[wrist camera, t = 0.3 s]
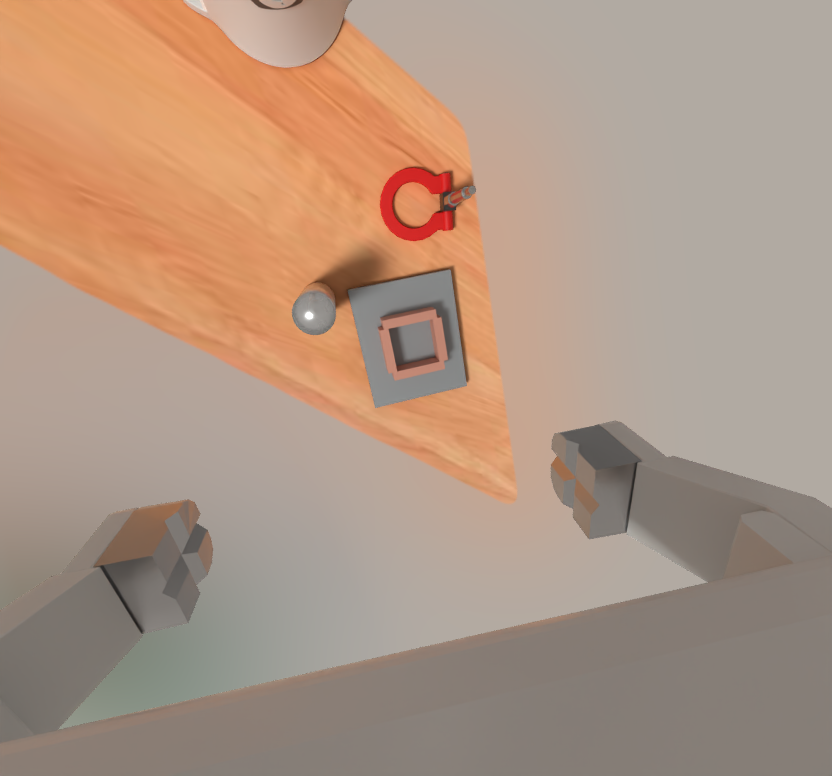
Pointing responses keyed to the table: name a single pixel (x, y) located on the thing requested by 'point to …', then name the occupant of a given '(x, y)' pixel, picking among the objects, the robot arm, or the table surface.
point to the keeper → (409, 336)
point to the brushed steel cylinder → (315, 309)
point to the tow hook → (435, 186)
